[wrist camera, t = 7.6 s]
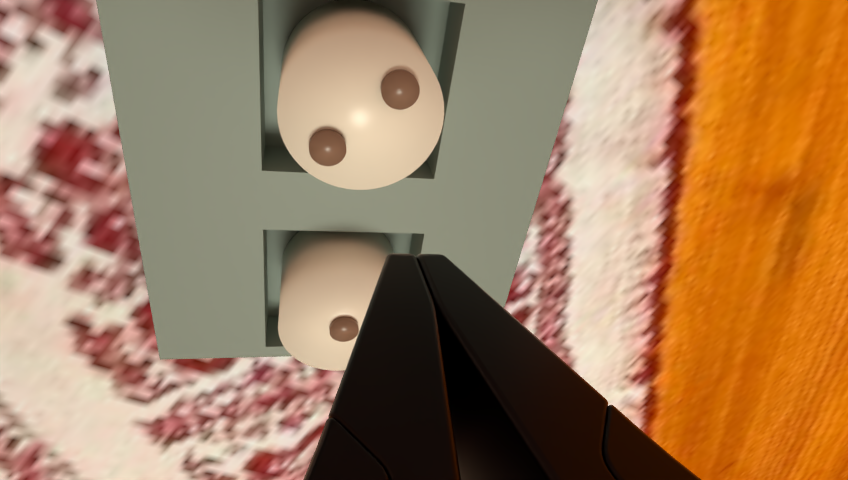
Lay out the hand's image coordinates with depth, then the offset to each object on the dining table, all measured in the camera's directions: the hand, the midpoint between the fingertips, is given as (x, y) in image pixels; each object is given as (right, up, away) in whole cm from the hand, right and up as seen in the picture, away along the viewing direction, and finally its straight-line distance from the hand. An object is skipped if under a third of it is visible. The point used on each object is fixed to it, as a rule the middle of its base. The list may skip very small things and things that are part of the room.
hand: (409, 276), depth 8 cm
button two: (-2, +5, +8) cm, 9 cm away
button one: (-3, 0, +11) cm, 12 cm away
